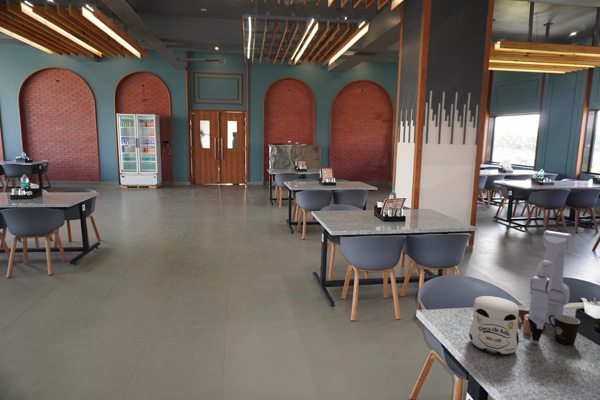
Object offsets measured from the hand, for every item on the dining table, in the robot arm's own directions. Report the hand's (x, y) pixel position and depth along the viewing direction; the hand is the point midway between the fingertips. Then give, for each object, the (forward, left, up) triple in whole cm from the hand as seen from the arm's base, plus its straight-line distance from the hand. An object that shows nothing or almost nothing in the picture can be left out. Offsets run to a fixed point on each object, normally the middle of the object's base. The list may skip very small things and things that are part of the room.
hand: (534, 338), depth 156 cm
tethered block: (-6, 0, -2) cm, 6 cm away
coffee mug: (-7, +11, -2) cm, 13 cm away
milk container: (+12, -16, -2) cm, 20 cm away
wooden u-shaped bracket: (-17, 0, -2) cm, 17 cm away
